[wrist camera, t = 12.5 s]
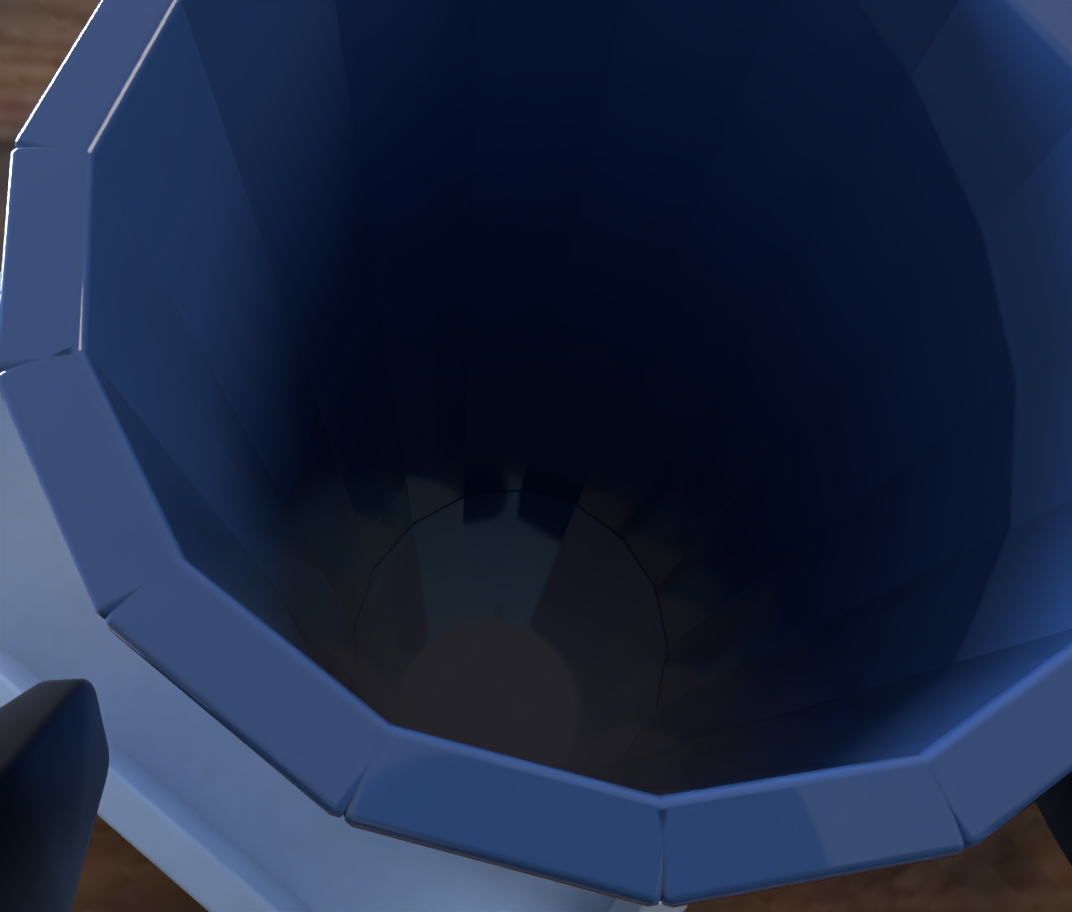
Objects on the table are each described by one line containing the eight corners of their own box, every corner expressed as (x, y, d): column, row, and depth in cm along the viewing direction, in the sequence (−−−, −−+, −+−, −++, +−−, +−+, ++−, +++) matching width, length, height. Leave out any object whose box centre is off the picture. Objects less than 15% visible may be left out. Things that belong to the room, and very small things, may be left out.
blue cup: (710, 796, 16) (1514, 757, 4) (350, 856, 15) (-70, 1046, 3) (642, 467, 18) (1012, -205, 6) (326, 502, 17) (35, -199, 5)
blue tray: (513, 1125, 14) (526, 1188, 12) (-168, 540, 17) (-272, 495, 14) (938, 411, 20) (1005, 357, 18) (381, 53, 22) (372, -37, 20)
